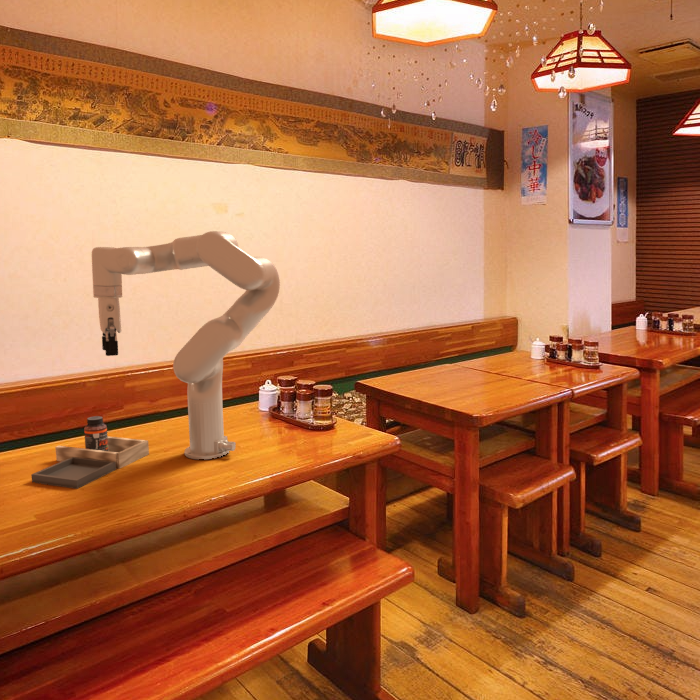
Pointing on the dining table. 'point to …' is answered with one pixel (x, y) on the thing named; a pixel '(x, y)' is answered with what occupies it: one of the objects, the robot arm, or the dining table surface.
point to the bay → (120, 449)
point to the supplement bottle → (96, 434)
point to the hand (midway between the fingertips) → (110, 352)
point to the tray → (74, 472)
